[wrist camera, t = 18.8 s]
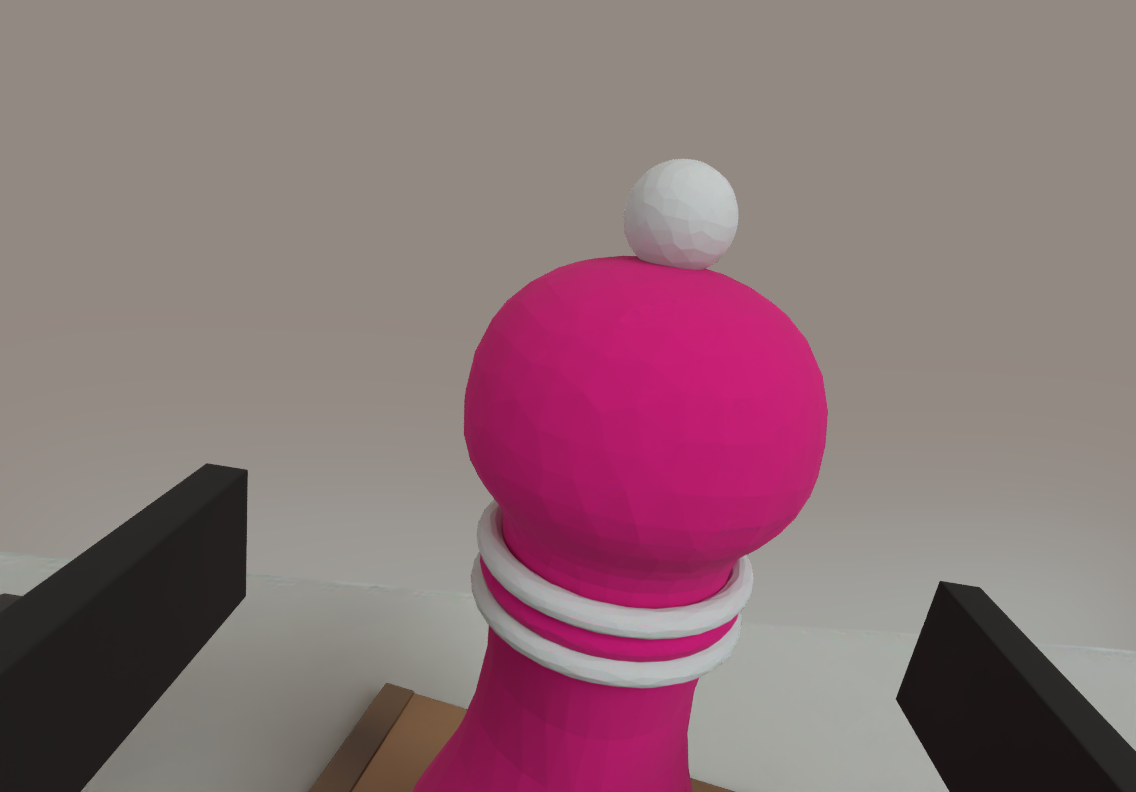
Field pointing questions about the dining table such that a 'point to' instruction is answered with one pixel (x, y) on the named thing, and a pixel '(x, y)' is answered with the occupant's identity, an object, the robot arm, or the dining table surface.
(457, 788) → the pepper mill
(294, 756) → the dining table surface
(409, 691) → the square wooden board
